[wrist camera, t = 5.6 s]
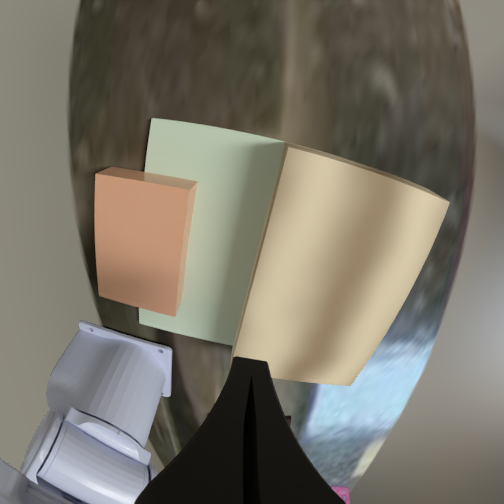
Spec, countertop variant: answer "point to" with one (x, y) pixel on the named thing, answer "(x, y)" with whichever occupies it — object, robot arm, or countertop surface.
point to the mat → (215, 219)
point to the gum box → (342, 493)
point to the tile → (142, 237)
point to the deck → (333, 265)
